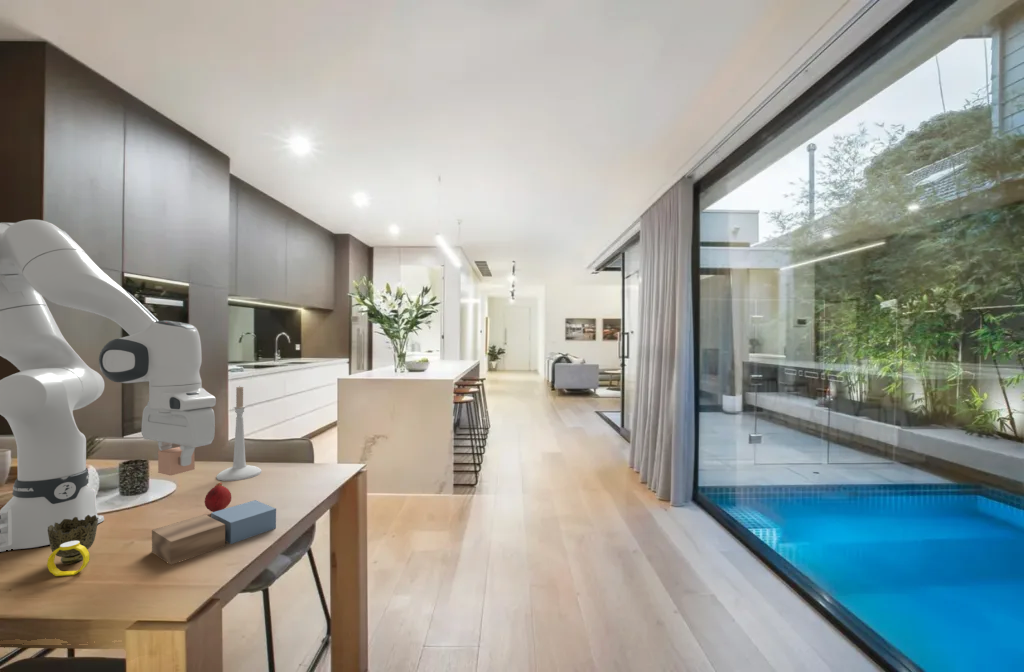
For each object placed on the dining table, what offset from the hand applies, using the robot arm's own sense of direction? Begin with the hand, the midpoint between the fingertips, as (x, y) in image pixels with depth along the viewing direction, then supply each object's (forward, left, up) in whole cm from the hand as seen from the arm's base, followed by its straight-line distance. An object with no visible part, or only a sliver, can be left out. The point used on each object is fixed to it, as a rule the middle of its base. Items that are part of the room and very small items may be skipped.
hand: (176, 463), depth 93 cm
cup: (-17, -10, -20) cm, 28 cm away
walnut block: (-1, +3, -20) cm, 20 cm away
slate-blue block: (+1, +14, -20) cm, 24 cm away
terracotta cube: (0, 0, -2) cm, 2 cm away
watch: (-11, -13, -20) cm, 26 cm away
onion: (-15, +18, -20) cm, 31 cm away
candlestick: (-42, +42, -20) cm, 63 cm away
